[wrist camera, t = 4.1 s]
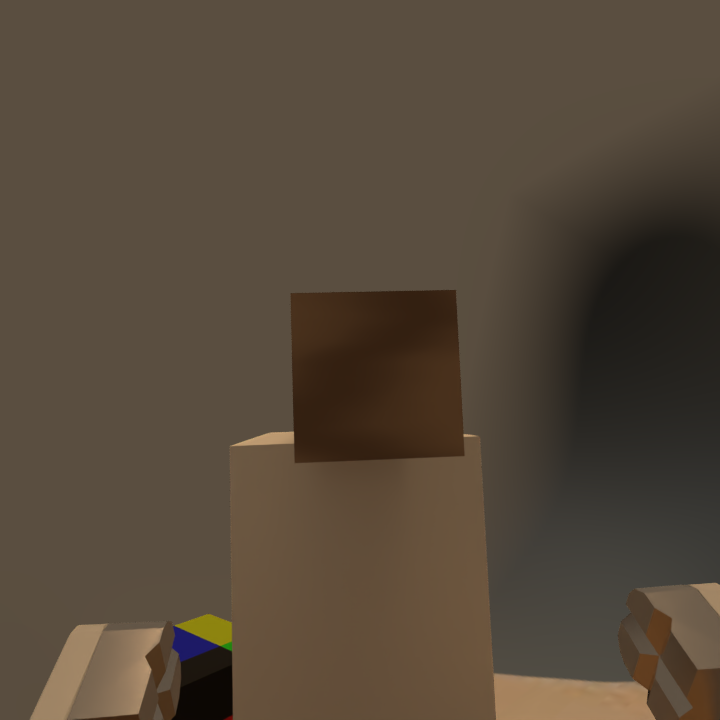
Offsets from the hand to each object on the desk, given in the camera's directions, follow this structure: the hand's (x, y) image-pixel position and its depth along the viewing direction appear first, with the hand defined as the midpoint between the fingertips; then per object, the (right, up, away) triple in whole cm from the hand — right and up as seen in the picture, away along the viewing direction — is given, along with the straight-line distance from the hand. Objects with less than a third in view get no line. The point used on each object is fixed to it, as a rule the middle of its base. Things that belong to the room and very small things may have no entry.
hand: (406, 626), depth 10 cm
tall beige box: (-1, -25, +17) cm, 31 cm away
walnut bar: (-1, +1, +15) cm, 15 cm away
